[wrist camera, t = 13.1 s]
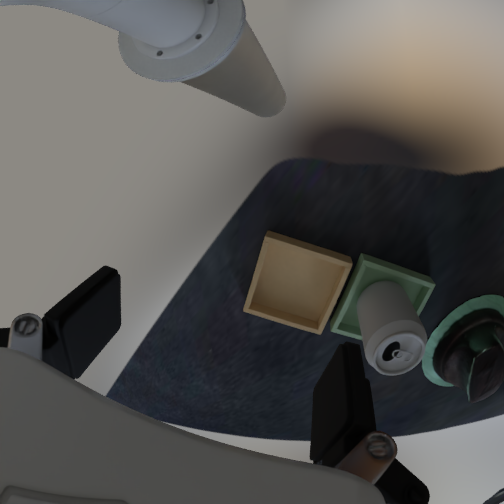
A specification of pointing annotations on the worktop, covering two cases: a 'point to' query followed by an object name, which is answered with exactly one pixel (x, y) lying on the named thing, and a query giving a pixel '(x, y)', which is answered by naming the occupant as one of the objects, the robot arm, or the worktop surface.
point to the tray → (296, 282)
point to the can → (390, 328)
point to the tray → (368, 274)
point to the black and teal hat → (469, 348)
